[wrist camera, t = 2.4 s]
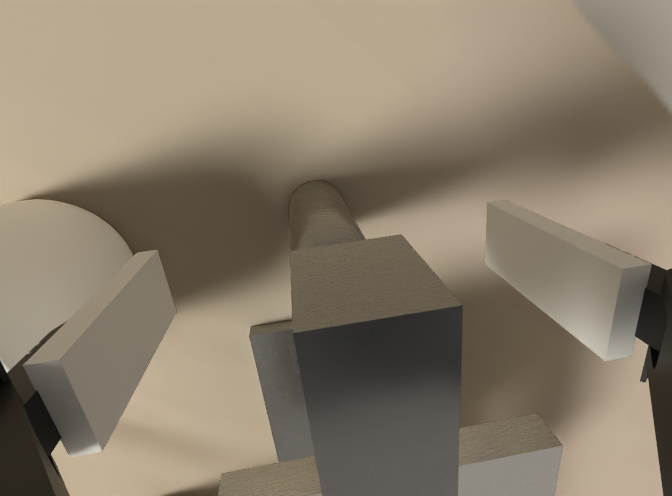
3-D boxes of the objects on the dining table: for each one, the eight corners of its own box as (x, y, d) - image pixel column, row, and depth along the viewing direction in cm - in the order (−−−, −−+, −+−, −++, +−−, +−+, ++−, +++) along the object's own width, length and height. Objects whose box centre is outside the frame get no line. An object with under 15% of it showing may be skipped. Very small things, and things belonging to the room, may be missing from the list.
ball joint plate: (246, 324, 23) (212, 530, 12) (440, 293, 24) (572, 457, 13) (285, 487, 29) (285, 729, 18) (441, 456, 30) (533, 668, 19)
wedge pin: (281, 160, 20) (270, 336, 5) (337, 152, 20) (483, 301, 5) (296, 256, 22) (321, 579, 7) (347, 249, 22) (471, 546, 7)
